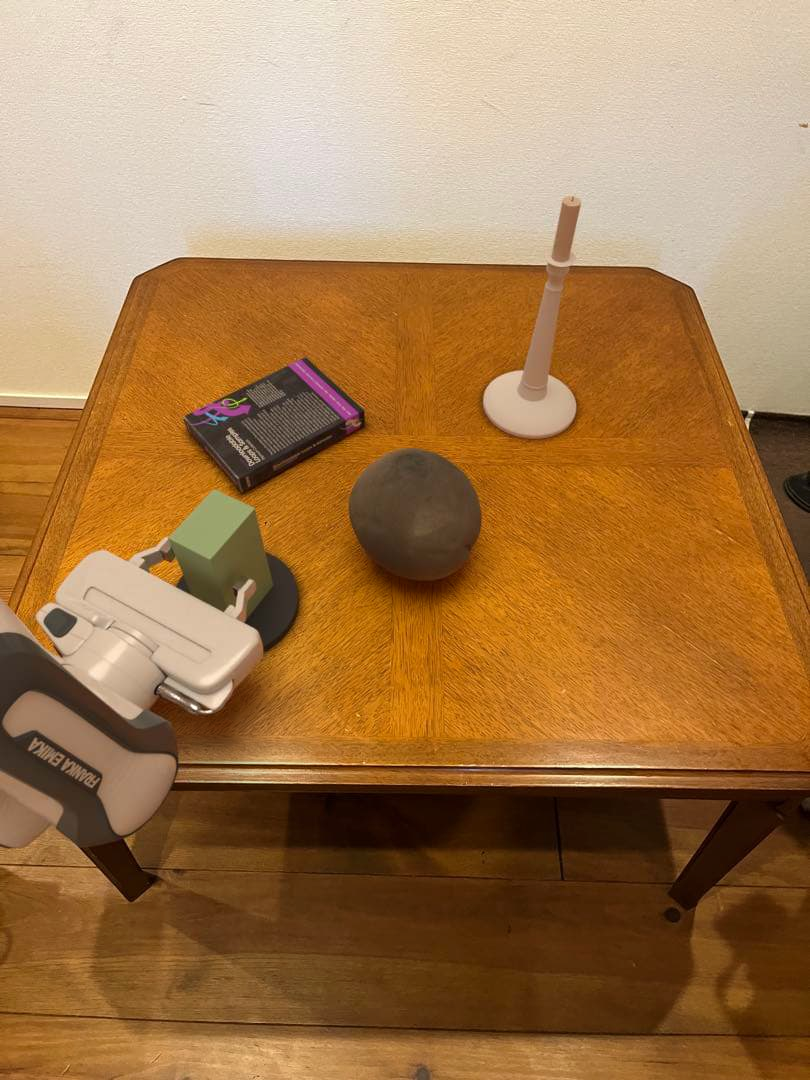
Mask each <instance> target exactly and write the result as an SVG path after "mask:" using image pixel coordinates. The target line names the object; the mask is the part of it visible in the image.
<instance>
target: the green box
mask: <svg viewBox="0 0 810 1080" xmlns="http://www.w3.org/2000/svg"><path fill="white" fill-rule="evenodd" d="M257 515H258V514H257V511H256V508H255V507H253V506H251V505H249V504H247V503H244V502H242V501H240V500H239V499H236V498H234V497H232V496H230V495H228V494H226V493H224V492H222V491H220V490H218V489H216V488H213V489H212V490H211V491H210V492H209V493H208V494H207V495H206V496H205V497H204V498H203V500H202V501H200V503H199V504H198V505H197V506H196V507H195V508H194V510H192V512H191V513H189V514H188V515H187V517H186V518H185V519H184V520H183V521H182V522H181V523H180V524H179V526H178V527H176V529H175V530H173V532H172V533H171V534H170V535H169V536H167V537H168V540H169V542H170V544H171V547H172V549H173V552H174V554H175V559H176V561H177V564H178V566H179V568H180V571H181V573H182V576H184V578H185V580H186V583H187V585H188V588H189V590H190V592H191V595H192V596H194V597H196V598H198V599H200V600H201V601H203V602H205V603H207V604H209V605H211V606H213V607H215V608H217V609H218V610H220V611H222V612H224V611H225V610H226V609H227V608H228V607H229V605H232V606H234V608H235V607H236V600H237V597H235V595H234V591H233V589H232V586H233V585H234V583H235V582H236V581H238V579H239V577H240V576H242V575H243V576H245V577H247V578H249V579H251V580H253V581H255V583H256V587H257V588H256V591H255V592H254V594H253V595H252V596H251V598H250V599H249V600H248V601H247V603H248V604H247V613H246V619H247V618H248V617H249V616H250V614H251V613H252V612H253V611H254V609H255V608H256V607H257V605H258V604H259V603H260V602H261V600H262V599H263V598H264V597H265V595H266V594H267V593H268V592H269V590H270V589H271V588H272V586H273V582H272V578H271V574H270V569H269V565H268V561H267V557H266V553H265V552H266V549H265V545H264V540H263V537H262V532H261V529H260V524H259V520H258V516H257Z"/></svg>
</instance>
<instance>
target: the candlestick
mask: <svg viewBox="0 0 810 1080" xmlns="http://www.w3.org/2000/svg"><path fill="white" fill-rule="evenodd" d="M581 206H582V200H581V199H580V198H578V197H576V196H573V195H568V196H565V197H563V199H562V201H561V207H560V211H559V217H558V221H557V227H556V230H555V231H556V232H555V236H554V242H553V247H552V248H551V249H548V250H547V251H546V252H545V253H544V256H543V258H544V260H545V262H546V263H547V264H546V267H545V270H546V273H547V274H548V280H547V281H545V284H544V290H543V294H542V297H541V302H540V305H539V310H538V314H537V316H536V321H535V325H534V329H533V333H532V336H531V341H530V345H529V348H528V352H527V356H526V360H525V364H524V367H523V369H522V370H521V369H520V370H513V371H509V372H506V373H503V374H501V375H499V376H497V377H495V378H494V379H493V380H492V381H491V382H490V383H489V384H488V385H487V387H486V388H485V391H484V393H483V398H482V407H483V411H484V413H485V416H486V418H487V419H488V420H489V421H490V422H491V423H492V424H493V425H494V426H495V427H496V428H498V429H499V430H500V431H503V432H504V433H506V434H509V435H512V436H514V437H518V438H522V439H530V440H541V439H546V438H551V437H554V436H556V435H559V434H561V433H563V432H564V431H566V429H568V428H569V427H570V426H571V425H572V423H573V421H574V419H575V417H576V413H577V402H576V398H575V395H574V394H573V392H572V391H571V389H570V388H569V387H568V386H567V385H566V384H565V383H564V382H562V381H561V380H560V379H558V378H556V377H554V376H553V375H550V367H551V360H552V355H553V348H554V343H555V335H556V331H557V324H558V317H559V310H560V305H561V300H562V299H561V298H562V292H563V289H564V284H563V280H564V278H565V276H567V275H568V274H569V272H570V266H573V265H574V264H575V263H576V261H577V257H576V255H575V254H574V253H573V252H572V248H573V247H572V246H573V241H574V237H575V233H576V229H577V225H578V224H577V223H578V219H579V215H580V210H581Z"/></svg>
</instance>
